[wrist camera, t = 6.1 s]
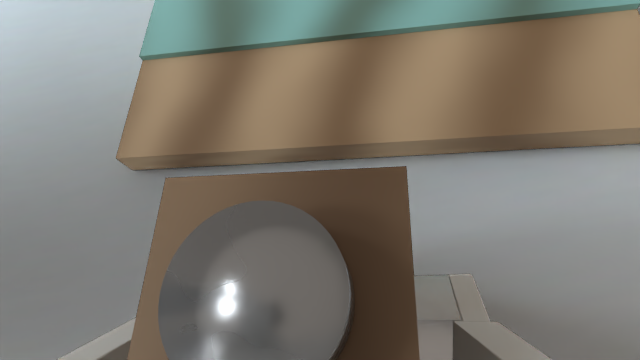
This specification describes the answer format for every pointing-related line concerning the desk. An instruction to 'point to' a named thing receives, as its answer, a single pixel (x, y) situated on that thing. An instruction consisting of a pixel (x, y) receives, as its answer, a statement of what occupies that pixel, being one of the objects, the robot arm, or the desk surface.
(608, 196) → the desk surface
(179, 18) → the tan flat board
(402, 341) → the walnut post
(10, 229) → the desk surface
